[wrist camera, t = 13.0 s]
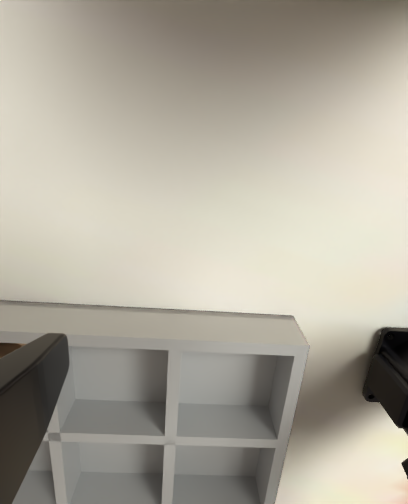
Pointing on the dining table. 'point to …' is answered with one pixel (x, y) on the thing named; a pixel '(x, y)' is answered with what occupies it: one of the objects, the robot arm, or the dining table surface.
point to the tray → (163, 404)
